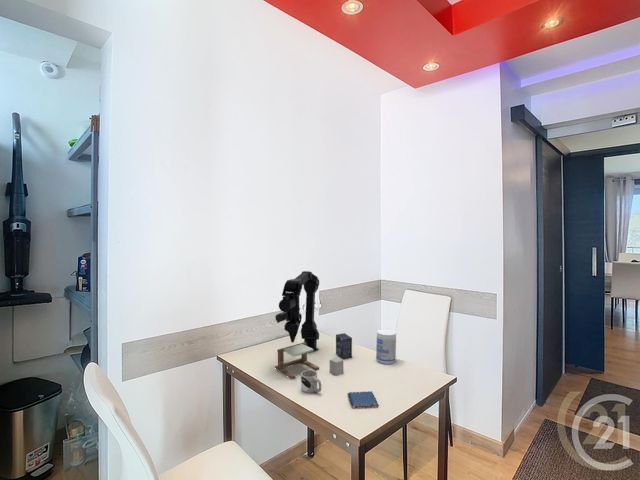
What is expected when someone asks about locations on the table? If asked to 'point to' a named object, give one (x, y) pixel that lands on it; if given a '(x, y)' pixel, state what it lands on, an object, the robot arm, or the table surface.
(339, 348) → the box
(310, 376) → the mug
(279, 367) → the frame
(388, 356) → the supplement tub
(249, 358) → the table surface
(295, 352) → the trapdoor
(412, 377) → the table surface
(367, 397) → the woven mat
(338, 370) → the grey rectangular block
